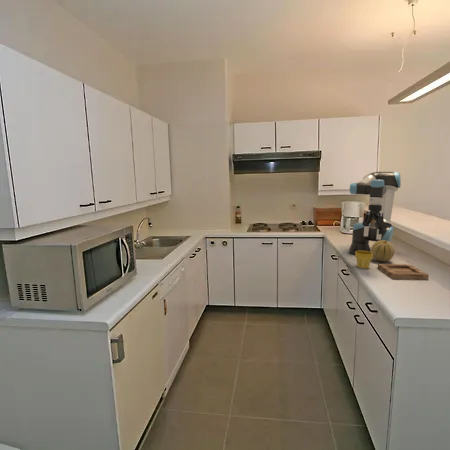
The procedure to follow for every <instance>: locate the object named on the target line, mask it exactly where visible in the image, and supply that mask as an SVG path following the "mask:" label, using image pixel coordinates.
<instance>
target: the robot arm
mask: <svg viewBox="0 0 450 450" xmlns="http://www.w3.org/2000/svg"><path fill="white" fill-rule="evenodd" d="M401 182H402V181H401V173H400V172H399V171H374V172H370V173H368V174H366V175H364V176H363V178H362V179H361V180H360V181H359V182H351V183H350V184H349V193H350V194H351V195H366V196H369V204H368V210H367V211H366V212H365V216H364V218H363V220H362V222H356V223H353V227H352V240H351V244H350V246H349V247H348V253H349V254H351V255H354V256H355V252H356V251H369V252H371V248H370V241H371V242H377V241H380V240H385V241H388V242H390V243H391V241H392V239H393V235H394V231H395V228H394V227H393V224H392V223H391V218H392V212H393V206H394V200H395V193H396V192H397V191H398V190H399V189H400V188H401V187H402V184H401ZM373 220H375V221H374V223H373V224H372V223H371V222H372V221H373Z"/></svg>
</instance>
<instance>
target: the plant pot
mask: <svg viewBox="0 0 450 450" xmlns="http://www.w3.org/2000/svg"><path fill="white" fill-rule="evenodd" d="M354 257H355V259H356V265H357V268H359V269H369V268H370V264H371V262H372V259H374V258H373V253H372V252H369V251H356V252H355V255H354Z"/></svg>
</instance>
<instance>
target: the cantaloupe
mask: <svg viewBox="0 0 450 450" xmlns="http://www.w3.org/2000/svg"><path fill="white" fill-rule="evenodd" d="M370 251H371V252H372V253H373V258H372V259H374V260H376V262H377V261H378V262H383V263H384V262H385V263H386V262H388V261H391V260H392V258H393V257H394V255H395V247H394V246H393V244H392V243H391V241H390V242H388V241H385V240H380V241H377V242H376V241H374V243H373V244H372V245H371V248H370Z"/></svg>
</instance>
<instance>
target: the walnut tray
mask: <svg viewBox="0 0 450 450" xmlns="http://www.w3.org/2000/svg"><path fill="white" fill-rule="evenodd" d="M377 269H378V271H381V272H382V273H383V274H385V275H386V276H388V277H389V278H390V279H392V280H420V281H422V280H425V281H428V280H429V277H430V276H429V274H428V273H426V272H425V271H423V270H421V269H420V268H418V267H416V266H414V265H412V264H410V263H409V264H407V263H406V264H405V263H404V264H402V263H401V264H399V263H393V264H392V263H391V264H390V263H378V264H377Z"/></svg>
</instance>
